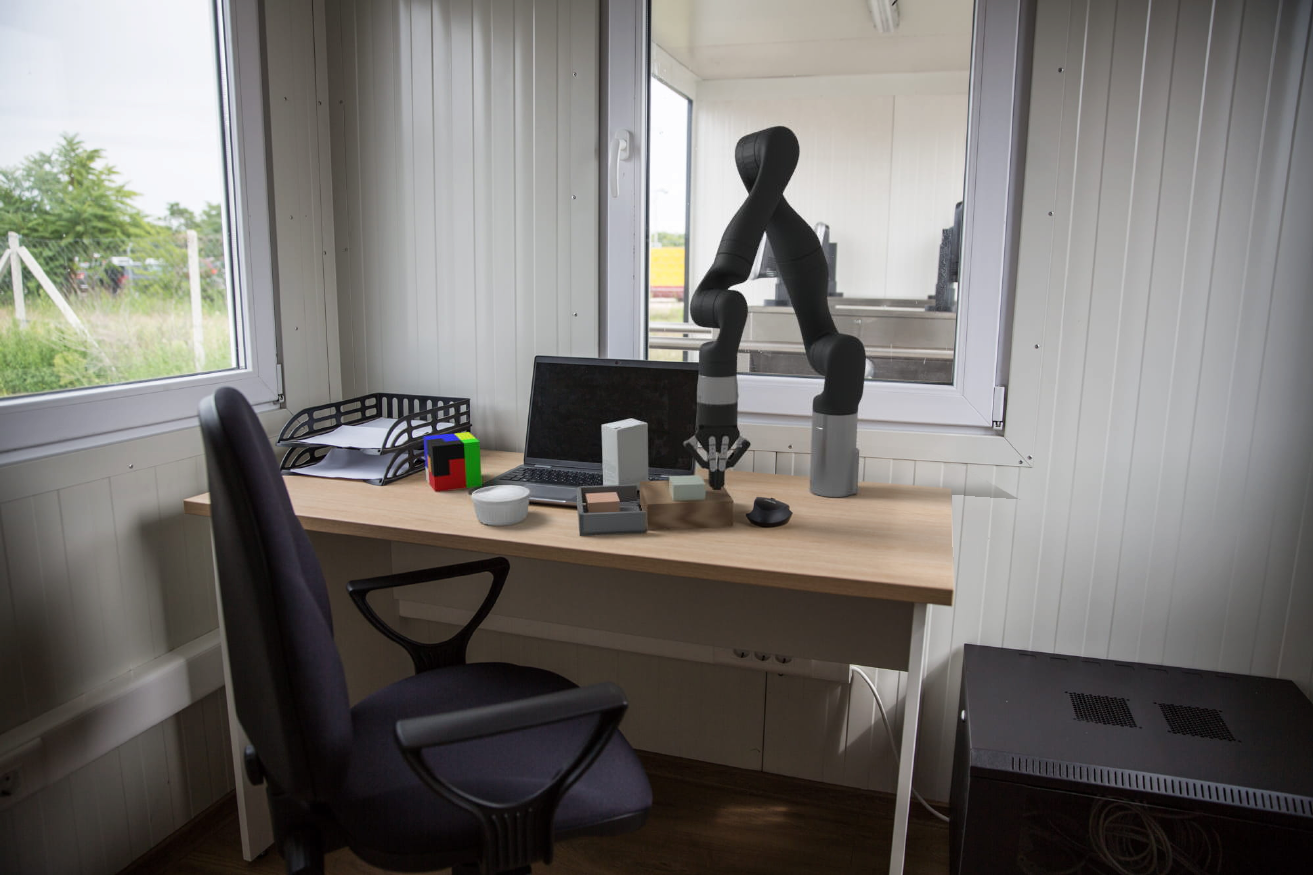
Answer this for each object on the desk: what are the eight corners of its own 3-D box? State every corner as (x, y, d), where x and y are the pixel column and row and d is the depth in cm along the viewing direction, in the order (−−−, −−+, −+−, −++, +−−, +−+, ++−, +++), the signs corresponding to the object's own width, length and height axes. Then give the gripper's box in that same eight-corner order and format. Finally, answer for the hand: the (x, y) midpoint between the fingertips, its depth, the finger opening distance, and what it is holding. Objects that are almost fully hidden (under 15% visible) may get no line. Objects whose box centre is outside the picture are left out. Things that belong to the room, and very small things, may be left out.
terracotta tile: (585, 493, 171) (585, 508, 172) (588, 502, 165) (588, 517, 166) (616, 492, 172) (616, 506, 172) (619, 501, 166) (620, 516, 167)
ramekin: (497, 506, 175) (496, 481, 174) (543, 514, 170) (542, 488, 169) (460, 522, 166) (458, 496, 164) (507, 532, 160) (506, 504, 159)
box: (636, 503, 176) (636, 484, 176) (645, 533, 159) (645, 512, 158) (577, 505, 175) (576, 486, 174) (579, 535, 158) (579, 514, 157)
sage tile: (700, 490, 168) (700, 475, 167) (705, 499, 162) (705, 484, 161) (669, 491, 167) (669, 476, 166) (673, 500, 161) (673, 485, 161)
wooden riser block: (718, 502, 177) (718, 478, 176) (733, 526, 162) (733, 500, 161) (639, 505, 175) (639, 481, 174) (647, 530, 161) (647, 504, 159)
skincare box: (632, 484, 190) (631, 417, 186) (650, 490, 185) (649, 422, 182) (601, 491, 185) (600, 422, 181) (618, 498, 180) (617, 427, 177)
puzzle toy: (426, 480, 194) (423, 436, 192) (471, 475, 198) (468, 432, 196) (435, 492, 185) (432, 446, 183) (481, 486, 189) (479, 441, 187)
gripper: (748, 394, 165) (746, 482, 169) (679, 396, 164) (678, 484, 168) (757, 401, 158) (755, 493, 162) (685, 403, 157) (684, 496, 160)
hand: (716, 488), depth 165 cm, fingers closed
